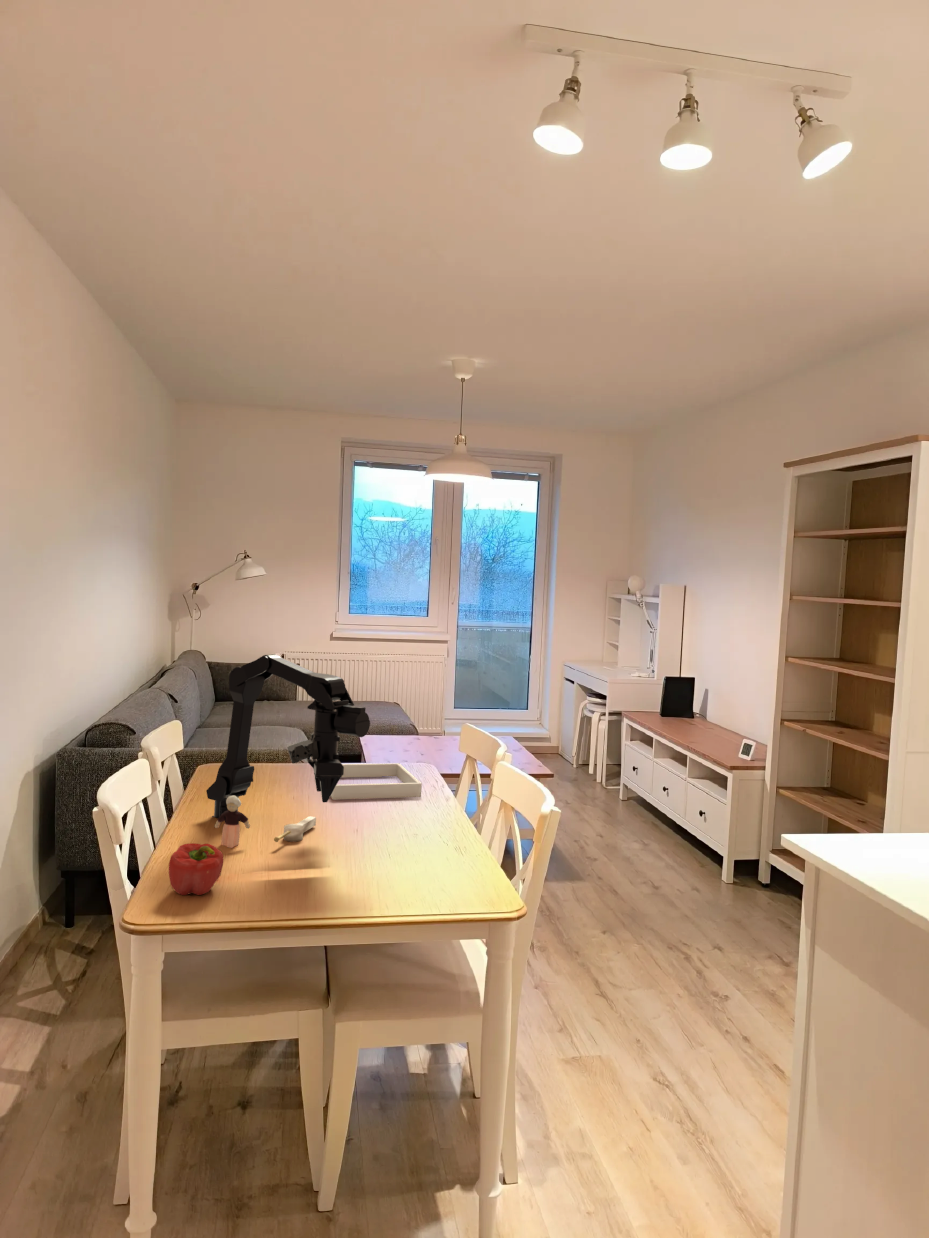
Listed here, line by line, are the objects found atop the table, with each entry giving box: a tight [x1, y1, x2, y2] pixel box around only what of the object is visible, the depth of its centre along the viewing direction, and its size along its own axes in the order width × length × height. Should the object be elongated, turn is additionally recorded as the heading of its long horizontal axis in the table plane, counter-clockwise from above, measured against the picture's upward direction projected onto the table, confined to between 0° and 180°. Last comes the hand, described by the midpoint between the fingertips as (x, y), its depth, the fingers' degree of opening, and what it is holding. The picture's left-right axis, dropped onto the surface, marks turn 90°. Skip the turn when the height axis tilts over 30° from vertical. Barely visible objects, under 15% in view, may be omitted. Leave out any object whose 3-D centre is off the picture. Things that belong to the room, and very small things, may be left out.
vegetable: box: [168, 843, 224, 896], centre depth 161 cm, size 11×10×10 cm
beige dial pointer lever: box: [273, 815, 317, 843], centre depth 193 cm, size 19×4×3 cm, turn 165°
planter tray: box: [330, 762, 423, 801], centre depth 249 cm, size 26×26×4 cm
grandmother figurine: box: [214, 795, 251, 848], centre depth 185 cm, size 8×4×13 cm, turn 105°
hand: (321, 796), depth 192 cm, fingers open, 9 cm apart
